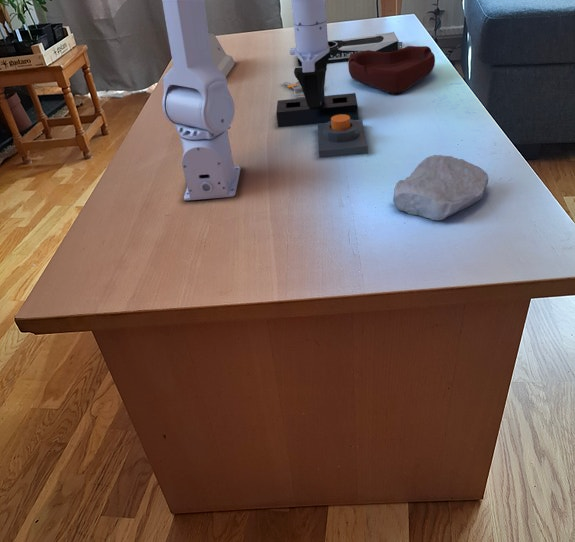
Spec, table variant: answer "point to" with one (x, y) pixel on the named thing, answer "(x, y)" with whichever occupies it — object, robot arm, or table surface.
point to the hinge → (220, 56)
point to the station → (342, 140)
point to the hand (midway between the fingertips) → (316, 98)
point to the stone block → (440, 187)
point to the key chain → (294, 87)
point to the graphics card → (361, 46)
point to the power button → (340, 122)
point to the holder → (315, 110)
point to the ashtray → (392, 67)
